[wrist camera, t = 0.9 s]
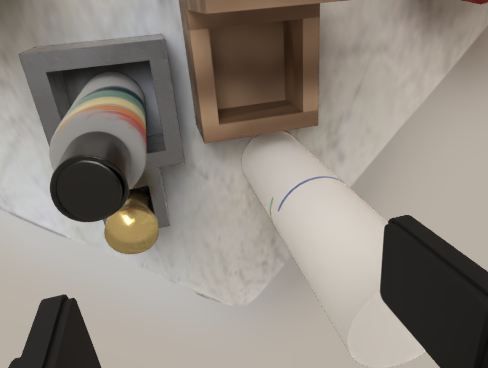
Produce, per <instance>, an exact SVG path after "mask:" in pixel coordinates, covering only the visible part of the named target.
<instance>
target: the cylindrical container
mask: <svg viewBox="0 0 488 368" xmlns="http://www.w3.org/2000/svg"><path fill="white" fill-rule="evenodd" d="M242 169H243V172H244V175H245V177H246V178H247V180H248V182H249V183H250V185H251V187H252V188H253V190H254V192H255V194H256V195H257V197H258V199H259V200H260V202H261V204H262V205H263V207H264V209H265V210H266V212H267V214H268V216H269V217H270V219H271V221H272V222H273V224H274V226H275V227H276V229H277V231H278V233H279V234H280V236H281V238H282V239H283V241H284V243H285V244H286V246H287V248H288V250H289V251H290V253H291V255H292V256H293V258H294V260H295V261H296V263H297V265H298V266H299V268H300V270H301V272H302V273H303V275H304V277H305V278H306V280H307V282H308V283H309V285H310V287H311V289H312V290H313V292H314V294H315V295H316V297H317V299H318V300H319V302H320V304H321V306H322V307H323V309H324V311H325V312H326V314H327V316H328V318H329V319H330V321H331V323H332V324H333V326H334V327H335V329H336V331H337V333H338V334H339V336H340V338H341V340H342V341H343V343H344V345H345V346H346V348H347V350H348V351H349V353H350V355H351V356H352V357H353V359H354V360H355V361H356V362H358V363H360V364H361V365H363V366H367V367H371V368H389V367H393V366H397V365H401V364H403V363H406V362H408V361H411V360H413V359H415V358H417V357H418V356H420V355H421V354H423V353H424V352H426V351H425V349H424V348H423V347H422V346H421V345H420V344H419V342H418V341H417V340H416V339H415V338H414V337H413V335H412V334H411V333H410V332H409V331H408V330H407V328H406V327H405V326H404V325H403V324H402V323H401V321H400V320H399V319H398V318H397V317H396V316H395V314H394V313H393V312H392V311H391V310H390V309H389V308H388V306H387V305H386V304H385V303H384V301H383V300H382V298H381V295H380V281H381V266H382V251H383V237H384V227H385V225H386V224H388V222H387V221H386V220H385V219H384V218H383V217H381V216H380V215H379V214H378V213H377V212H376V211H375V210H374V209H373V208H371V207H370V206H369V205H368V204H367V203H366V202H365V201H364V200H363V199H361V198H360V197H359V196H358V195H357V194H356V193H355V192H354V191H353V190H351V189H350V188H349V187H348V186H347V185H346V184H345V183H344V182H343V181H341V180H340V179H339V178H338V177H337V176H336V175H335V174H334V173H333V172H332V171H330V170H329V169H328V168H327V167H326V166H325V165H324V164H323V163H322V162H320V161H319V160H318V159H317V158H316V157H315V156H314V155H313V154H312V153H311V152H309V151H308V150H307V149H306V148H305V147H304V146H303V145H302V144H300V143H299V142H298V141H297V140H296V139H295V138H294V137H293V136H292V135H290V134H288V133H287V132H284V131H279V132H273V133H266V134H260V135H257V136H256V137H255V138H253V139H252V140H251V141H250V142H249V143H248V145H247V147H246V148H245V150H244V153H243V156H242Z"/></svg>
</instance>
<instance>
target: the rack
mask: <svg viewBox="0 0 488 368" xmlns="http://www.w3.org/2000/svg"><path fill="white" fill-rule="evenodd" d="M336 1H346V0H179V5H180V12H181V19H182V26H183V33H184V40H185V47H186V55H187V62H188V69H189V76H190V83H191V90H192V97H193V104H194V111H195V119H196V125H197V127H198V129H199V131H200V134H201V136H202V138H203V141H204V143H210V142H216V141H222V140H229V139H235V138H241V137H248V136H254V135H260V134H266V133H273V132H279V131H285V130H292V129H298V128H304V127H311V126H317V125H318V96H319V26H320V3H325V2H336Z"/></svg>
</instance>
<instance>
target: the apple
mask: <svg viewBox="0 0 488 368" xmlns="http://www.w3.org/2000/svg"><path fill="white" fill-rule="evenodd" d="M463 1H467V2H472V3H477V4H483V3H487V2H488V0H463Z"/></svg>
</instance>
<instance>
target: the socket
mask: <svg viewBox="0 0 488 368" xmlns="http://www.w3.org/2000/svg"><path fill="white" fill-rule="evenodd" d="M18 55H19V58H20V61H21V64H22V67H23V69H24V72H25V75H26V78H27V81H28V84H29V87H30V90H31V93H32V96H33V99H34V102H35V105H36V108H37V111H38V114H39V117H40V120H41V123H42V126H43V129H44V132H45V135H46V138H47V141H48V144H49V147H50V143H51V140H52V137H53V135H54V133H55V131H56V129H57V128H58V126H59V124H60V123H61V121H62V120H63V118H64V117H65V115H66V114H67V112H68V111H69V109H70V108H71V105H70V101H69V98H68V95H67V91H66V88H65V84H64V81H63V78H62V74H61V70H69V69H78V68H87V67H95V66H104V65H113V64H121V63H130V62H139V61H148V60H149V61H150V66H151V72H152V77H153V82H154V88H155V93H156V99H157V104H158V109H159V115H160V120H161V126H162V131H163V134H158V135H152V136H146V164H145V168H144V171H143V173H142V175H141V177H140V178H139V180H138V181H137V182H136V183H135V184H134V185H133V186H132V187H131V188H130V189H133V188H139V187H144V186H149V190H150V195H151V196H147V197H148V209H149V210H151V211H152V212H153V213H154V214H155V216H156V218H157V221H158V228H160V227H166V226H170V223H169V215H168V207H167V200H166V195H165V190H164V185H163V180H162V175H161V170H160V167H163V166H169V165H175V164H181V163H185V161H184V154H183V148H182V142H181V136H180V130H179V124H178V118H177V112H176V105H175V99H174V93H173V87H172V81H171V75H170V69H169V63H168V56H167V50H166V44H165V39H164V37H163V35H162V34H157V35H147V36H138V37H128V38H118V39H109V40H99V41H89V42H80V43H70V44H60V45H51V46H41V47H34V48H32V49H29V50H27V51H25V52H23V53H20V54H18ZM103 221H104V224H105V225H106V221H107V218H105V219H103Z"/></svg>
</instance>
